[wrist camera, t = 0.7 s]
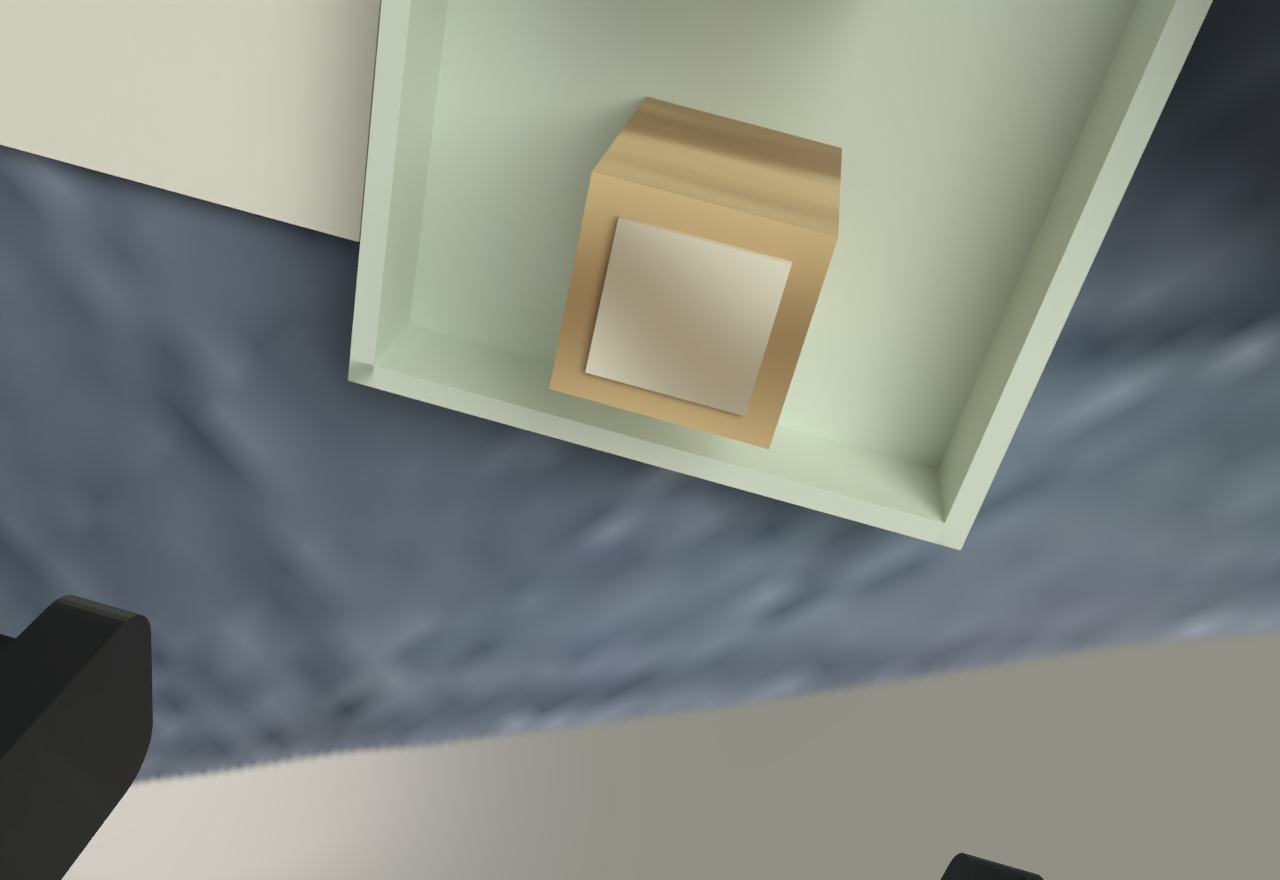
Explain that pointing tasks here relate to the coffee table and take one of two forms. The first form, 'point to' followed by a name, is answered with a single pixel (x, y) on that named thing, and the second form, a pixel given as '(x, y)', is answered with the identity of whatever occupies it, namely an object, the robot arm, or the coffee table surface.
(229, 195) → the ceramic tile
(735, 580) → the coffee table surface
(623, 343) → the oak box
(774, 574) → the coffee table surface
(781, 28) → the parts tray
